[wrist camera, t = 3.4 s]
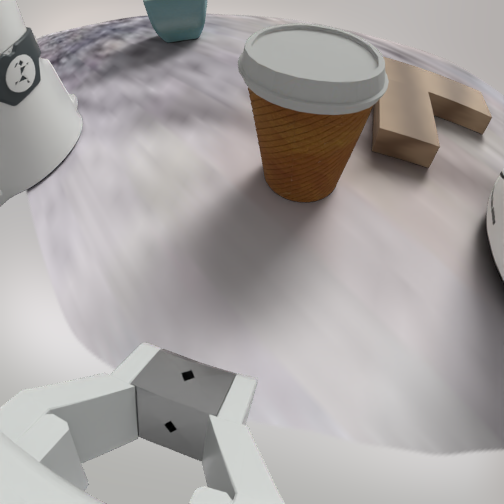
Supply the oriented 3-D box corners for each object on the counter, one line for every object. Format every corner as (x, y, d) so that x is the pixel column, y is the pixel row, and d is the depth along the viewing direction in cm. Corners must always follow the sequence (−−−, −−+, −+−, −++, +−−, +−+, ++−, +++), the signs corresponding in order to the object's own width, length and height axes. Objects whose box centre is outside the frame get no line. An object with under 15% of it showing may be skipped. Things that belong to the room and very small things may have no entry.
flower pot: (211, 42, 40) (205, -10, 32) (153, 51, 40) (141, 1, 32) (212, 23, 44) (207, -22, 36) (161, 30, 44) (152, -13, 36)
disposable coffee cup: (250, 224, 25) (242, 89, 14) (241, 139, 29) (233, 22, 19) (368, 215, 25) (419, 93, 14) (339, 135, 29) (361, 25, 19)
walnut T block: (279, 130, 30) (281, 106, 27) (306, 59, 37) (307, 40, 34) (499, 194, 26) (512, 176, 23) (473, 108, 33) (480, 92, 31)
